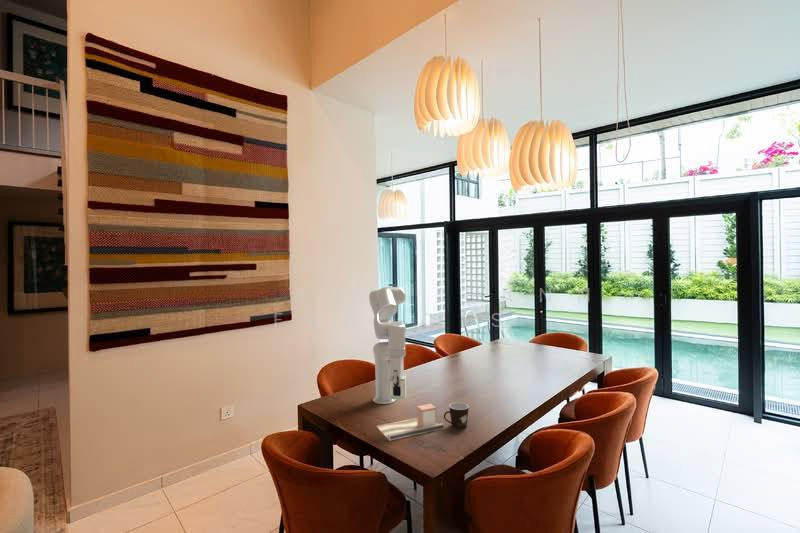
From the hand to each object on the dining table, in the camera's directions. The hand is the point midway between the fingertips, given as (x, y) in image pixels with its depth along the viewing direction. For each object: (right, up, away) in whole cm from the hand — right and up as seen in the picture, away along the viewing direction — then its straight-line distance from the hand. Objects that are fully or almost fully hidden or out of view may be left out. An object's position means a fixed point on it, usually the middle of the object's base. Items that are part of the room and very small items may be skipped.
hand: (397, 392), depth 167 cm
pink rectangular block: (+13, -16, +1) cm, 20 cm away
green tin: (0, -2, 0) cm, 2 cm away
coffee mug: (+26, -17, +2) cm, 31 cm away
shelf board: (+5, -17, +1) cm, 18 cm away
